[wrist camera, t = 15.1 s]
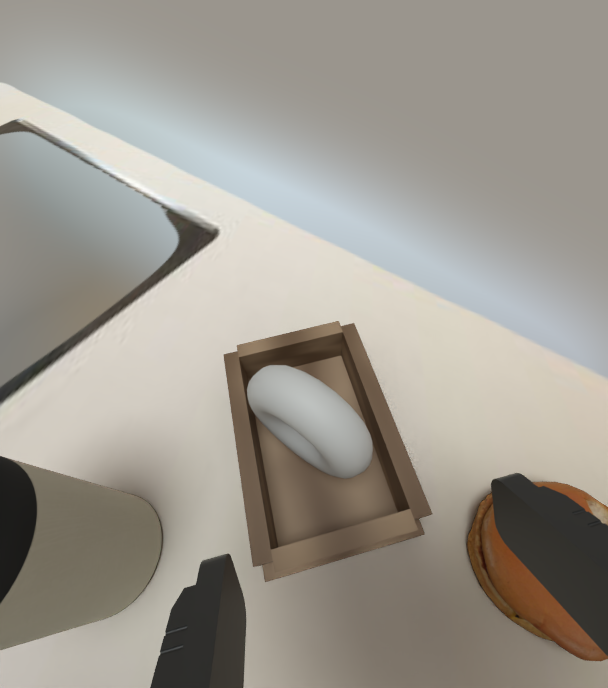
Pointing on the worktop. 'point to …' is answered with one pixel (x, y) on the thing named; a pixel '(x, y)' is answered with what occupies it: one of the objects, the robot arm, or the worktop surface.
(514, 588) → the burger
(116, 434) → the worktop surface
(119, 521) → the travel mug
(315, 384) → the donut
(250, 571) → the worktop surface
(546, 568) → the robot arm
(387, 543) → the walnut stand
